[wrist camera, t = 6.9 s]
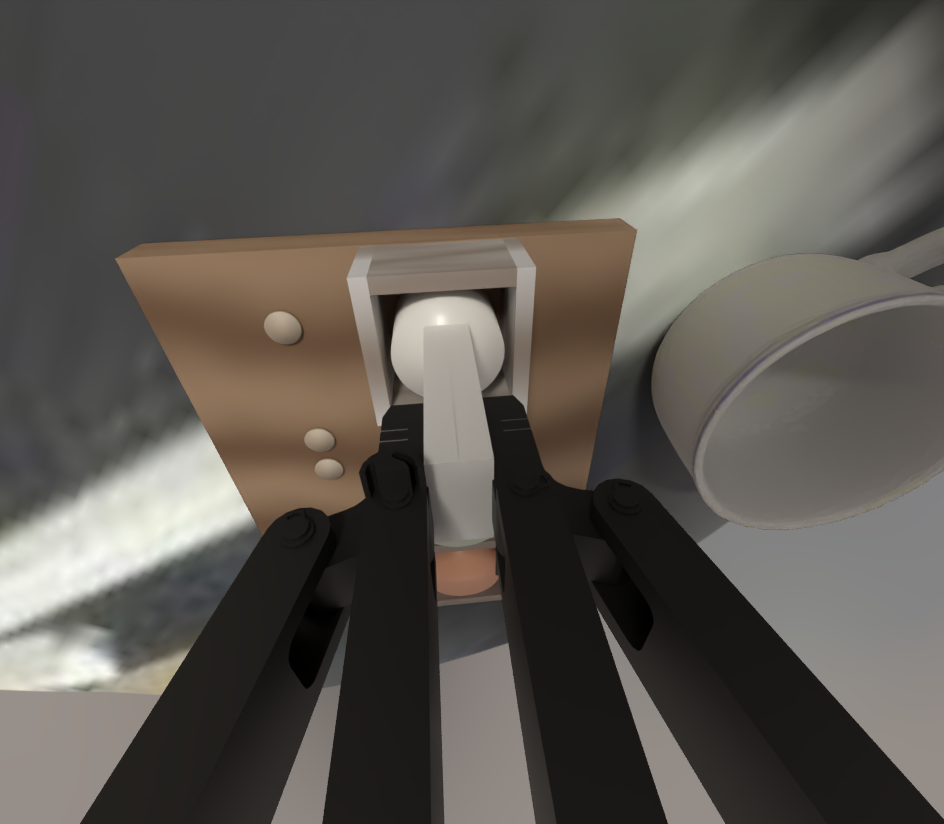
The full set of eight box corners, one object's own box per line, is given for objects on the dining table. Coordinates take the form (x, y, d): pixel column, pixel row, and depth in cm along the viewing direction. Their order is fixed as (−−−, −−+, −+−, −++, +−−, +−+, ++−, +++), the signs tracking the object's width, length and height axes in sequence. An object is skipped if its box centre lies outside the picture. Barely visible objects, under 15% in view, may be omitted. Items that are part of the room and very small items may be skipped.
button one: (388, 273, 16) (382, 305, 14) (493, 267, 16) (505, 297, 14) (402, 364, 19) (398, 405, 16) (493, 357, 19) (503, 397, 16)
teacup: (681, 449, 26) (763, 564, 20) (582, 342, 21) (650, 452, 15) (933, 292, 21) (1150, 381, 15) (884, 98, 16) (1188, 108, 10)
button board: (141, 243, 17) (53, 293, 13) (619, 218, 18) (676, 257, 14) (289, 550, 29) (268, 624, 25) (567, 524, 30) (589, 591, 26)
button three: (424, 513, 25) (424, 559, 22) (492, 506, 25) (500, 551, 23) (430, 554, 27) (430, 599, 25) (492, 548, 27) (499, 592, 25)
